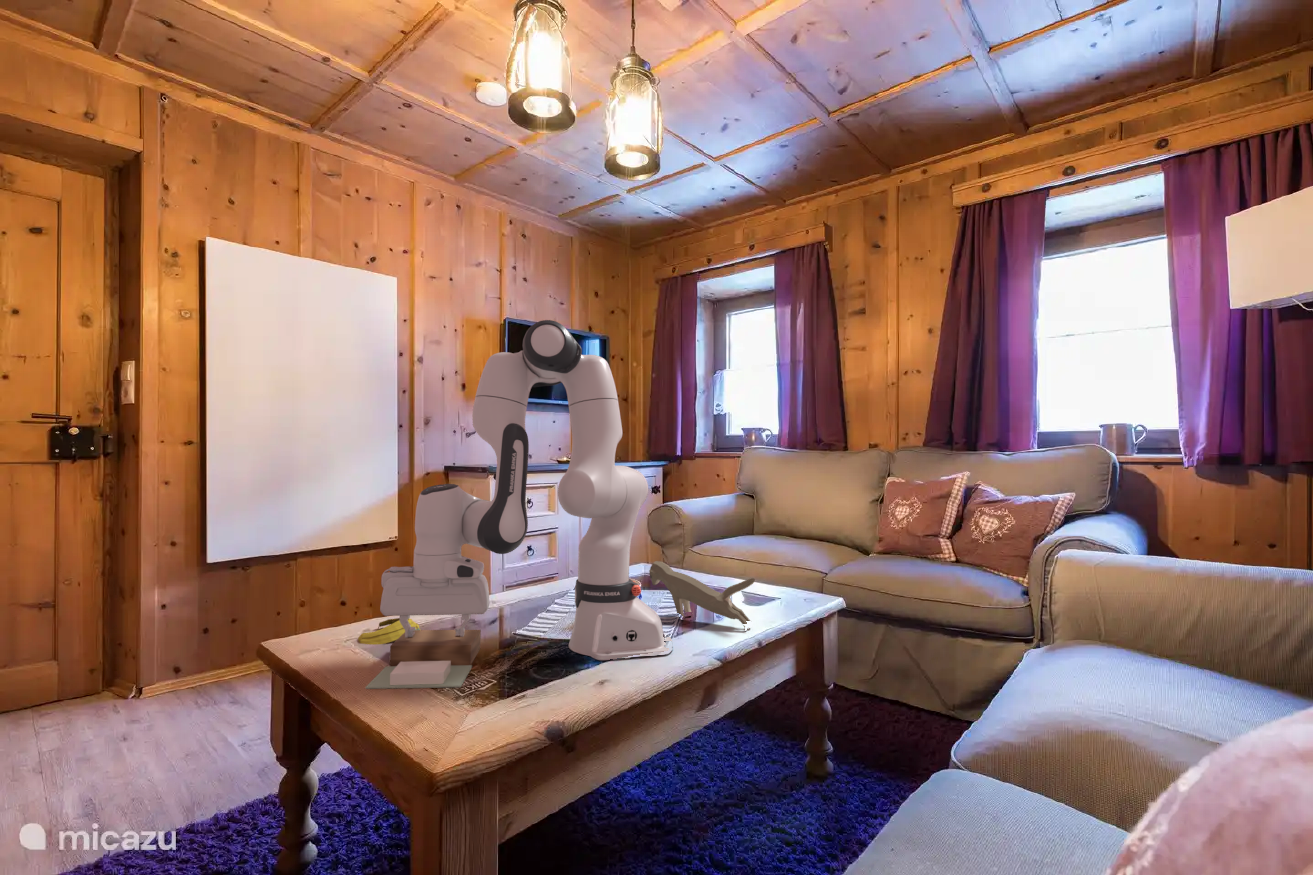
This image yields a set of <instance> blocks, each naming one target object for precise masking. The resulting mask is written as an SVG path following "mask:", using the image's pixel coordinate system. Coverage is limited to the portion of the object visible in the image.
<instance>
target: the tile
mask: <svg viewBox="0 0 1313 875" xmlns="http://www.w3.org/2000/svg"><path fill="white" fill-rule="evenodd" d="M450 671H451V661H412V662H400V663H399V664H398V665H397V666H396V668H395V669H394V670H393V671H392V672H391V673H390V685H413V684H443V683H444V681H445V680H446V678H447V676H448V675H449V673H450Z"/></svg>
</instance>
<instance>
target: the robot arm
mask: <svg viewBox="0 0 1313 875" xmlns="http://www.w3.org/2000/svg"><path fill="white" fill-rule="evenodd" d="M582 353H583V348H582V347H581V345H580V344H579V343H578V342H577V341H576V339H575V338H574V337H573V335H572V334H571V333H570V331H569V330H568V329H567V328H566V327H565V325H563V324H561V323H560V322H558V321H555V320H551V319H545V320H543V319H542V320H539V321H538V322H537V321H536V322H535V323H534V324H532V325H531V326H530V327H529V328H528V329H527V330H526V332H525V334H524V336H523V339H522V350H520V351H519V352H514V353H512V352H508V351H507V352H506V351H503V352H501V351H500V352H497V353H494V354H492V355H491V356H489V357H488V359H487V360H486V362H485V364H484V367H483V368H482V369H483V370H482V372H481V375H480V378H479V381H478V386H477V389H476V392H475V397H474V402H473V406H472V418H471V419H472V426H473V429H474V430H475V432H476V434H477V435H478V436H479V437H480V438H481V439H482V440H483V441H484V442H486V443H487V444H488V445H490V447H491V448H492V449H493V451H494V453H495V455H496V456H495V457H496V471H495V473H496V474H495V482H494V483H495V484H494V493H493V494H494V495H493V497H492V500H486V499H482V498H480V497H476V496H474V495H472V494H470V493H468V492H466V491H465V490H463V488H461V486H459V485H458V484H455V483H444V484H436V485H435V484H434V485H432V486H428V487H426V488H424V489H423V490H422V491H421V492H420V493H419V495H418V499H417V503H416V508H415V518H414V532H415V537H416V541H415V542H416V543H415V547H414V549H413V566H390V567H389V568H388V569H385V570H384V572H382V574H381V579H380V580H381V587H382V594H381V599H380V600H381V601H380V607H379V608H380V609H379V610H380V613H381V614H382V615H383V616H385V617H392V616H393V617H395V616H397V617H398V616H399V618H400V620H399V621H400V623H401V625H402V626H403V628H404V629H405V638H414V636H415V632H414V631H415V627H411V626H410V624H409V622H408V619H409V618H410V619H411V616H451V615H453V616H454V615H455V616H457V615H458V616H459V615H460V616H461V620H462V621H463V622H462V624H461V625H457V626H456V627H455V629H454V630H455V632H456V634H455V637H463V636H464V631H465V630H466V629H465V627H466V625H467V624H468V622H469V621H470V620H471V618H472V617H471V616H472V615H484V614H485V613H486V612H487V611H488V610H489V608H490V592H489V590H490V588H489V583H488V580H487V578H486V576H485V575H484V574H483V573H484V570H485V565H484V562H482V561H480V560H477V559H474V558H471V557H467V556H463V555H462V547H463V545H470V546H473V547H477V548H480V549H485V550H487V551H490V552H492V553H494V554H497V555H505V554H510V553H511V552H513V551H515V550H516V549H517V548H519V547H520V545H521V544H522V543H523V542H524V540H525V538H526V535H527V531H528V528H529V527H528V526H529V524H528V523H529V521H528V514H527V512H528V511H527V505H526V496H527V482H528V479H527V478H528V469H529V446H530V445H529V437H528V433H527V430H526V414H527V408H528V404H529V398H530V392H531V389H532V388H539V387H549V386H550V387H551V386H557V385H559V384H561V383H562V385H563V387H564V389H565V392H566V396H567V403H568V404H567V405H568V411H569V419H570V420H569V421H570V427H571V428H570V429H571V438H572V439H571V440H572V441H571V442H572V445H571V454H570V460H569V463H568V467H567V470H566V471H565V473H564V475H563V476H562V477H561V479H560V481H559V482H558V487H557V499H558V502H559V504H560V506H561V508H562V510H564V511H565V512H566V513H567V514H568V515H570V516H574V517H577V518H584V519H591V520H590V523H589V526H588V529H587V530H586V532H585V534H584V536H583V537H582V538H581V540H580V542H579V544H578V560H577V562H578V563H577V564H578V565H577V566H578V567H577V579H576V581H575V585H574V605H575V614H574V621H573V626H572V627H573V628H572V632H571V636H570V638H569V641H568V642H569V643H568V648H569V650H571V651H572V652H574V653H577V654H580V655H584V656H589V657H591V658H593V659H594V660H597V661H609V660H610V659H613V660H618V659H617V658H622V657H628V656H633V655H640V654H648V653H653V652H664V651H668V650H669V648H666V647H664V645H666V643H665V642H664V641H672V642H673V640H672V638H671V637H670V636H669V637H667V638H666V639H665V640H664V637H663V633H664V629H663V624H662V620H661V617H660V616H659V614H658V613H657V612H656V610H654V609H653V608H651V607H650V606H649V605H648V604H646V603H645V602H644V601H643V600H641V599H640V598H639V597H638V596H640V595H641V594H642V589H641V586H640V585H638V583H637V582H636V581H635V580H632V579H630V551H631V542H632V538H633V533H634V529H635V527H636V526H635V525H636V521H637V518H638V515H639V512H640V510H641V508H642V506H643V505H644V503H645V501H646V500H647V498H648V495H649V483H648V480H647V479H646V477H645V476H644V474H643V473H642V472H640V471H639V470H637V469H635V468H632V467H630V466H626V465H616V464H615V462H616V460H615V459H616V451H617V447H618V444H619V443H620V441H621V440H622V437H623V427H622V425H623V424H622V419H621V418H622V417H621V412H620V405H619V397H618V392H617V388H616V382H615V379H614V377H613V374H612V373H613V372H612V370H611V368H610V365H609V363H608V361H607V360H606V359H605V358H603V357H602V356H599V355H596V354H582ZM610 661H611V660H610Z"/></svg>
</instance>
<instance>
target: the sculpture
mask: <svg viewBox="0 0 1313 875" xmlns="http://www.w3.org/2000/svg"><path fill="white" fill-rule="evenodd" d="M648 572H649V573H648V574H649V578H650V580H651V584H652V586H657V585H658V584H659V583H660V581H661V582H662V583H663V584H664V586H665V587H666V589H667V590H668V591H669V593H670V594H671V597H672V600H673V603H674V606H675V610H676V614H677V613H679V614H681V615H682V616H683V617H684V618H685V615H684V614H685V613H686V612H692V610H691V604H690V603H693V604H694V605H696V606H698V607H699V608H702V609H704V610H706V611H709V612H711V613H714V614H716V615H719V616H722V617H725V618H728V619H731V620H738V621H739V622H740V623H741V625H743V624H747V622H746V621H751V620H750V619H749V617H748V616H747V615H746V613H745V612H744V611H743V609H740V608H739V607H737V606H736V605H735V604H734V603H733V601H732V600H731V597H732V595H734V594H737V593H739V592H741V591H743V590H745V589H748V588H749V587H750V586H752V585H753V584H754V583H755V582H756V579H755V578H754V577H751V578H747V579H745V580H744V581H741V582H738V583H736V584H733V585H730V586H728V587H727V588H725V590H723V591H722V592H719V591H717V590H715V589H714V588H712V587H710V586H708V585H707V584H705V583H703V582H702V581H700V580H699V579H697V578H694V577H693V576H690V575H688V574H685V573H682V572H680V571H679V572H678V571H674V570H673V569H672V567H670V565H668V564H667V563H665V562H663V561H660V560H659V561H658V560H656V561H653V563H652V564H651V566H650V567H649V570H648ZM684 612H685V613H684Z"/></svg>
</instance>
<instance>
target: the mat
mask: <svg viewBox="0 0 1313 875" xmlns="http://www.w3.org/2000/svg"><path fill="white" fill-rule="evenodd" d="M395 668H396V666H390V665H388V666H385V667H384V668H383V669H382V670H381V671H380V672H379V673H378V674H377V675H376V676H375V677H374V678H373V679H372V680H371V681H370V682H369V683H368V684H367V685H366V686H365V689H367V690H371V689H372V690H374V689H380V690H381V689H425V688H426V689H427V688H429V689H430V688H431V689H433V688H438V689H439V688H441V689H442V688H461V687H462V686H463V683H464V682H465V680H466V678H467V677H468V675H469V673H470V672H471V669H473V665H472V664H471V665H451V671H450V673H449V675H448V676H447V678H446V680H445V681H444V683H443V684H413V685H390V673H391V672H392V671H393V670H394V669H395Z"/></svg>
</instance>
